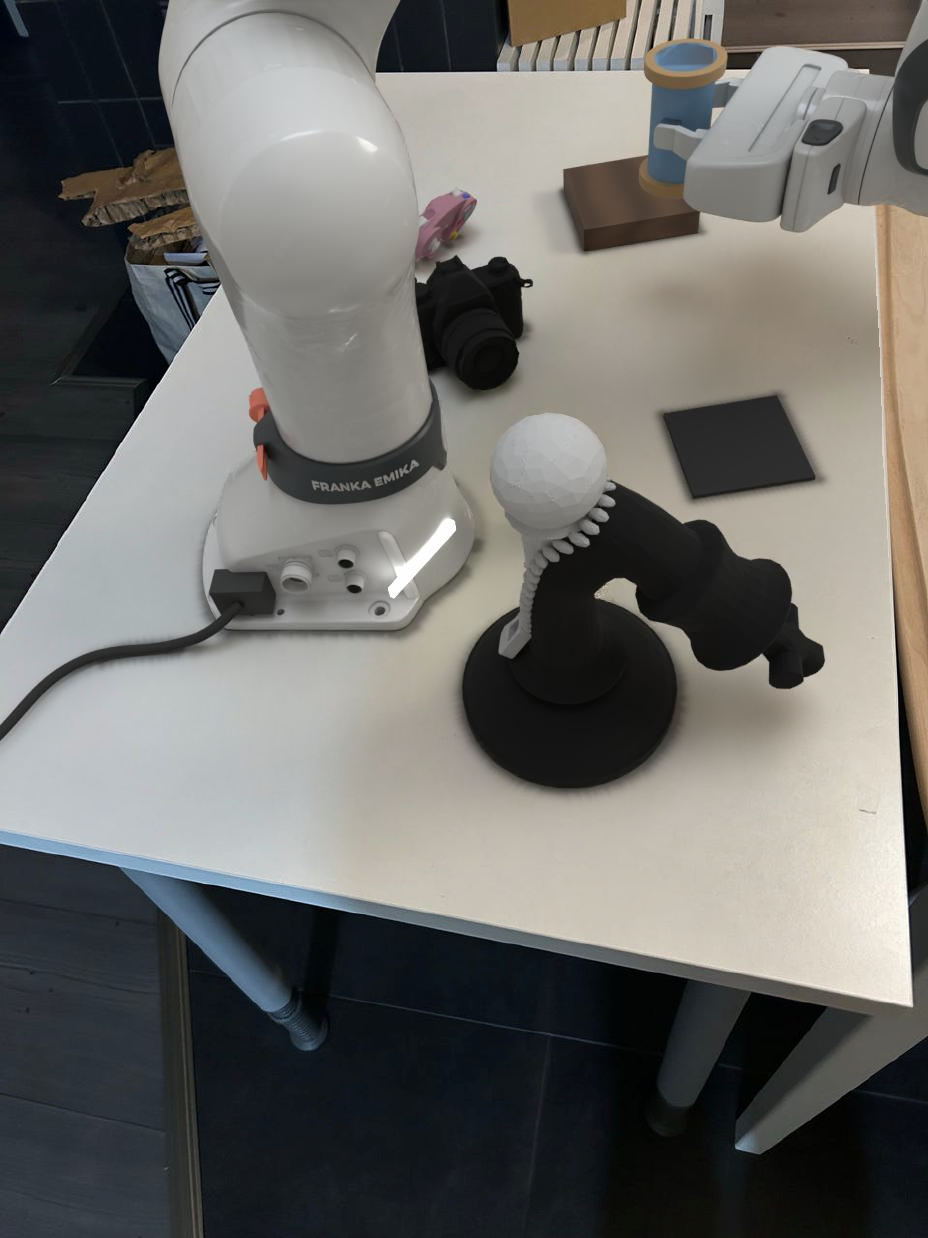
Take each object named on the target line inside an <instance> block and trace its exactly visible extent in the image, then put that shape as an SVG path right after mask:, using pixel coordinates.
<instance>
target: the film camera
mask: <svg viewBox="0 0 928 1238" xmlns="http://www.w3.org/2000/svg"><path fill="white" fill-rule="evenodd" d="M434 262H435V268H434V269H433V271H432V272H431V273H430V275H429V276H428V278H427V280H426V281H425V282H420V281H419V282H418V279H417V277H416V276H415V299H416V308H417V314H418V320H419V326H420V332H421V338H422V343H423V349H424V355H425V361H426V367H427V372H429V371H432V370H434V369H438V368H440V367H443V366H445V365H448V367H449V368H451V370H452V371H453V373H454V375H455V376H456V377H457V378H458V380H460V382H462V383H464V384H465V385H466V387H468V388H469V389H471V390H474V391H480V392H481V391H483V392H486V391H489V390H494V389H496V388H498V387H500V386H502V385H504V384H505V383H506V382H507V381H508V380H509V379H510V378H511V376H512V375H513V374H514V372H515V370H516V369H517V366H518V364H519V357H520V351H519V348H518V345H517V341H516V340H517V339H519V338H520V337H522V335H523V332H524V327H525V326H524V325H525V323H524V311H523V297H522V295H523V293H522V288H523V289H529V288H532V287H533V286H534V281H533V279H532V278H523V277H521V274H520V271H519V269H518V268H517V267H516V266H515V265H514V264H513V263H510V262H509V260H508V259H507V257H505V256H494V257H492V258H490V260H489V261H488V262H487V264H484V265H481V266H477V267H475V268H472V269H471V268H469V266H467V265H466V264H465V263H464V262H463V261H462V259H461V258H460V257H459V256H458V254H455V255H454V256H453V257H452V258H449V259H445V260H443V261H440V260H439V261H438V260H437V261H434Z"/></svg>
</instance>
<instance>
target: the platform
mask: <svg viewBox="0 0 928 1238" xmlns="http://www.w3.org/2000/svg"><path fill="white" fill-rule="evenodd" d="M647 157H648V154H646V155H639V156H634V157H628V158H621V159H615V160H609V161H603V162H598V163H591V164H585V165H580V166H574V167H573V166H572V167H566V168H563V169H562V179H563V182H562V183H563V193H564V195H565V196H564V197H565V199H566V202H567V205H568V208H569V210H570V215H571V216H572V219H573V224H574V225H575V228H576V232H577V234H578V237H579V240H580V243H581V246H582V249H583V252H589V251H594V250H600V249H606V248H613V247H619V246H625V245H630V244H636V243H642V242H643V243H644V242H648V241H655V240H661V239H668V238H673V237H679V236H686V235H692V234H698V233H699V228H700V217H701V212H700V211H697V210H695V209H693V208H692V207H691V206H690V205H688V204H687V203H686V202H685V200H684V198H682V199H666V198H660V197H656V196H653V195H651V194H649V193H647V192H646V191H645V190H643V189H642V187H641V186H640V184H639V168H640V165H641V163H642V162H643V161H644V160H645V159H646V158H647Z"/></svg>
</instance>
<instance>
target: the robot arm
mask: <svg viewBox="0 0 928 1238" xmlns="http://www.w3.org/2000/svg"><path fill="white" fill-rule="evenodd" d="M400 2H401V0H169V1H168V4H167V5H168V6H167V10H166V14H165V15H166V16H165V20H164V25H163V29H162V34H161V40H160V47H159V55H158V79H159V87H160V92H161V95H162V99H163V103H164V106H165V111H166V113H167V117H168V121H169V125H170V129H171V133H172V137H173V143H174V146H175V151H176V155H177V159H178V163H179V167H180V170H181V174H182V178H183V182H184V185H185V189H186V193H187V197H188V201H189V206H190V208H191V212H192V214H193V216H194V220H195V222H196V224H197V227H198V230H199V233H200V235H201V238H202V239H203V242H204V245H205V248H206V251H207V253H208V255H209V258H210V260H211V263H212V265H213V267H214V270H215V273H216V275H217V277H218V280H219V282H220V284H221V285H220V286H221V287H222V289H223V293H224V295H225V297H226V299H227V302H228V305H229V306H230V309H231V311H232V313H233V316H234V318H235V320H236V323H237V325H238V328H239V329H240V331H241V334H242V336H243V338H244V341H245V343H246V346H247V349H248V351H249V354H250V357H251V360H252V363H253V365H254V368H255V371H256V374H257V377H258V379H259V381H260V384H261V387H258V388H255V389H253V390H252V391H250V395H248V401H249V402H248V403H249V409H248V416H249V417H250V419H251V420H252V421H253V422H254V423H255V425H254V426H253V432H252V442H253V445H254V448H255V450H254V451H253V452H251V454H249V455H248V456H247V457H246V458H244V459H243V460H242V461H240V462H238V463H237V464H236V465H235V466H234V467H233V468H232V469H231V470H230V471H229V473H228V474H227V476H226V478H225V480H224V481H223V485H222V488H221V491H220V495H219V499H218V505H217V511H216V512H215V513H214V516H213V517H212V520H211V522H210V524H209V528H208V530H207V533H206V536H205V541H204V547H203V551H202V552H203V554H202V565H201V566H202V582H203V583H202V584H203V590H204V594H205V599H206V601H207V604H208V606H209V609H210V611H211V613H212V615H213V616H214V618H215V620H214V621H213V622H211V623H210V624H208V625H207V626H205V627H204V628H202V629H200V630H198V631H197V632H193V633H191V634H188V635H184V636H181V637H177V638H174V639H169V640H164V641H159V642H150V643H140V644H124V645H118V646H117V645H115V646H109V647H104V648H99V649H96V650H93V651H90V652H86V653H84V654H81V655H79V656H77V657H75V658H73V659H70V660H69V661H67V662H65V663H63V664H62V665H60V666H59V667H57V668H56V669H54V670H53V671H52V672H50V673H49V674H48V675H46V676H45V677H43V678H42V680H40V681H39V682H38V683H37V684H36V685H35V686H34V687H33V688H32V689H31V690H30V691H29V692H28V693H27V694H26V695H25V696H24V698H22V700H21V701H19V703H18V704H17V706H15V708H14V709H13V710H12V711H11V712H10V714H9V715H8V716H7V717H6V718H5V719H4V720H3V721H2V722H1V723H0V742H1V741H2V740H3V739H4V738H5V737H6V736H7V735H8V734H9V733H10V732H11V731H12V730H13V729H14V727H15V726H16V725H17V724H18V723H19V722H20V721H21V720H22V718H23V717H25V715H26V714H27V712H29V710H30V709H31V708H32V707H33V706H34V705H35V704H36V702H38V700H39V699H40V698H41V697H42V696H43V695H44V694H45V693H46V692H47V691H48V690H50V688H52V687H53V686H54V685H55V684H56V683H58V682H59V681H60V680H62V679H63V678H65V677H67V676H68V675H69V674H72V673H74V672H75V671H77V670H78V669H81V668H82V667H85V666H87V665H90V664H93V663H96V662H100V661H101V660H107V659H112V658H117V657H118V658H119V657H126V656H139V655H140V656H141V655H152V654H160V653H161V654H162V653H168V652H172V651H176V650H180V649H184V648H188V647H191V646H195V645H198V644H201V643H203V642H205V641H206V640H208V639H210V638H212V637H213V636H215V635H216V634H218V633H219V632H220V631H222V630H223V629H226V630H240V631H241V630H243V631H244V630H248V631H251V630H253V631H254V630H256V631H257V630H259V631H262V630H263V631H265V630H266V631H398V630H402V629H404V628H405V627H406V626H408V625H409V624H410V623H411V622H412V621H413V620H414V618H415V617H416V615H417V614H418V612H419V611H420V609H421V607H422V606H423V605H424V603H425V601H426V600H427V599H428V598H429V597H430V596H432V595H433V594H435V592H437V591H439V590H440V589H441V588H442V587H444V586H445V585H446V584H447V583H449V582H450V581H451V580H452V579H453V578H454V577H455V576H457V574H458V573H459V572H460V570H461V569H462V567H464V565H465V563H466V562H467V560H468V558H469V557H470V554H471V551H472V549H473V545H474V543H475V538H476V537H475V536H476V524H475V519H474V516H473V512H472V510H471V507H470V506H469V504H468V503H467V501H466V500H465V498H464V496H463V495H462V493H461V492H460V490H459V488H458V486H457V484H456V481H455V479H454V476H453V474H452V470H451V468H450V466H449V465H450V464H449V463H448V451H449V446H448V445H449V444H448V438H447V437H448V436H447V429H446V424H445V423H446V422H445V418H444V411H443V407H442V403H441V400H439V396H438V391H437V389H436V386H435V384H434V382H433V381H432V378H430V377H429V374H428V373H429V371H427V367H426V361H425V355H424V349H423V343H422V338H421V332H420V326H419V320H418V314H417V308H416V299H415V277H416V261H415V248H416V245H417V240H418V235H419V216H420V209H419V202H418V195H417V187H416V181H415V176H414V171H413V166H412V161H411V157H410V152H409V149H408V144H407V141H406V137H405V135H404V131H403V130H402V127H401V125H400V124H399V123H400V122H398V119H397V118H396V117H395V115H394V113H393V111H392V110H391V108H390V107H389V105H388V103H387V101H386V100H385V98H384V97H383V94H382V92H381V91H380V89H379V88H378V86H377V79H376V73H377V72H376V71H377V63H378V57H379V52H380V48H381V44H382V40H383V39H384V36H385V33H386V31H387V28H388V26H389V24H390V22H391V19H392V17H393V16H394V14H395V12H396V9H398V6H399V4H400ZM718 108H720V109H721V108H723V109H722V110H721V112H720V113H719V115H718V116H717V117H716V118H715V120H714V122H713V123H712V124H711V128H710V129H709V130H705V129H697V130H696V131H695V132H693V131H691V130H689V129H686V128H684V127H682V126H681V120H677V119H671V120H670V119H669V118H663V119H662V120H661V121H660V123H659V124H658V125H657V126H656V128H655V129H654V136H653V144H654V146H655V147H656V148H658V149H664V150H670V151H673V152H674V153H676V154H677V155H678V156H680V157H681V158H683V159H684V160H685V161H687V164H686V171H685V180H684V193H683V198H684V200H685V202H686V203H687V204H688V205H690V206H691V207H692V208H693V209H695V210H697V211H700V213H703V214H707V215H712V216H717V217H720V218H726V219H731V220H736V221H742V222H749V223H769V222H772V221H775V220H777V219H778V218H780V221H779V227H780V229H782V230H783V231H786V232H790V233H797V234H801V233H805V232H807V231H808V230H810V229H812V227H814V226H815V225H816V224H817V223H819V222H820V221H821V220H823V219H824V218H825V217H827V216H828V215H830V214H832V213H833V212H835V211H837V210H839V209H841V208H842V207H844V204H847V205H853V206H859V207H874V206H894V207H897V208H900V209H903V210H905V211H907V212H909V213H911V214H912V215H915V216H919V217H923V218H928V0H922V3H921V5H920V7H919V10H918V12H917V14H916V16H915V18H914V20H913V23H912V25H911V28H910V30H909V33H908V35H907V38H906V40H905V42H904V45H903V47H902V51H901V53H900V56H899V58H898V61H897V64H896V67H895V72H894V76H889V75H883V74H881V75H880V74H873V73H863V72H860V70H858V69H856V68H850V67H849V65H848V62H847V61H846V60H845V59H843V58H842V57H839V56H837V55H834V54H831V53H826V52H821V51H818V50H811V49H807V48H806V49H805V48H801V47H796V46H795V47H794V46H788V45H776V46H772V47H768V48H765V49H764V50H762V52H761V54H760V56H759V57H758V58H757V59H756V61H755V62H754V64H753V65H752V67H751V69H750V70H749V71H748V73H747V74H746V75H745V77H743V78H742V77H734V76H732V77H728V78H723V79H718V80H717V81H716V82H715V92H714V101H713V109H718ZM379 613H383V614H381V615H378V614H379Z"/></svg>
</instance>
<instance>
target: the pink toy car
mask: <svg viewBox="0 0 928 1238" xmlns="http://www.w3.org/2000/svg"><path fill="white" fill-rule="evenodd" d="M477 204H478V199H476V198H475V197H474V196H473V195H471V193H469V192H467V191H465V190H461V189H460V188H459V187H458V186H456V187H454V189H453V190H452V191H450V192H448V193H445V194H443V195H439V196H437V197H435V198H433V199H432V200H430V202H429V203H428V204H427V205H426V206H425V209H424V211H423V212H422V213H421V214H419V235H418V240H417V245H416V248H415V262H416V261H417V260H419V259H420V258H426V259H428V260H431V259H433V258H434V257H435V256H436V255H437V253H438V252H439V251H440V249H441V246H442V244H443V242H445V244H450V243H451V242H453V241H454V240H456V239H457V238H458V236H459V232H460V230H461V229H462V227H463V226H464V225H465V224H466V222H467V221H468V220H469V218H470V217H471V216H472V214H473V213H474V211H475V210H476V206H477Z"/></svg>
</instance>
